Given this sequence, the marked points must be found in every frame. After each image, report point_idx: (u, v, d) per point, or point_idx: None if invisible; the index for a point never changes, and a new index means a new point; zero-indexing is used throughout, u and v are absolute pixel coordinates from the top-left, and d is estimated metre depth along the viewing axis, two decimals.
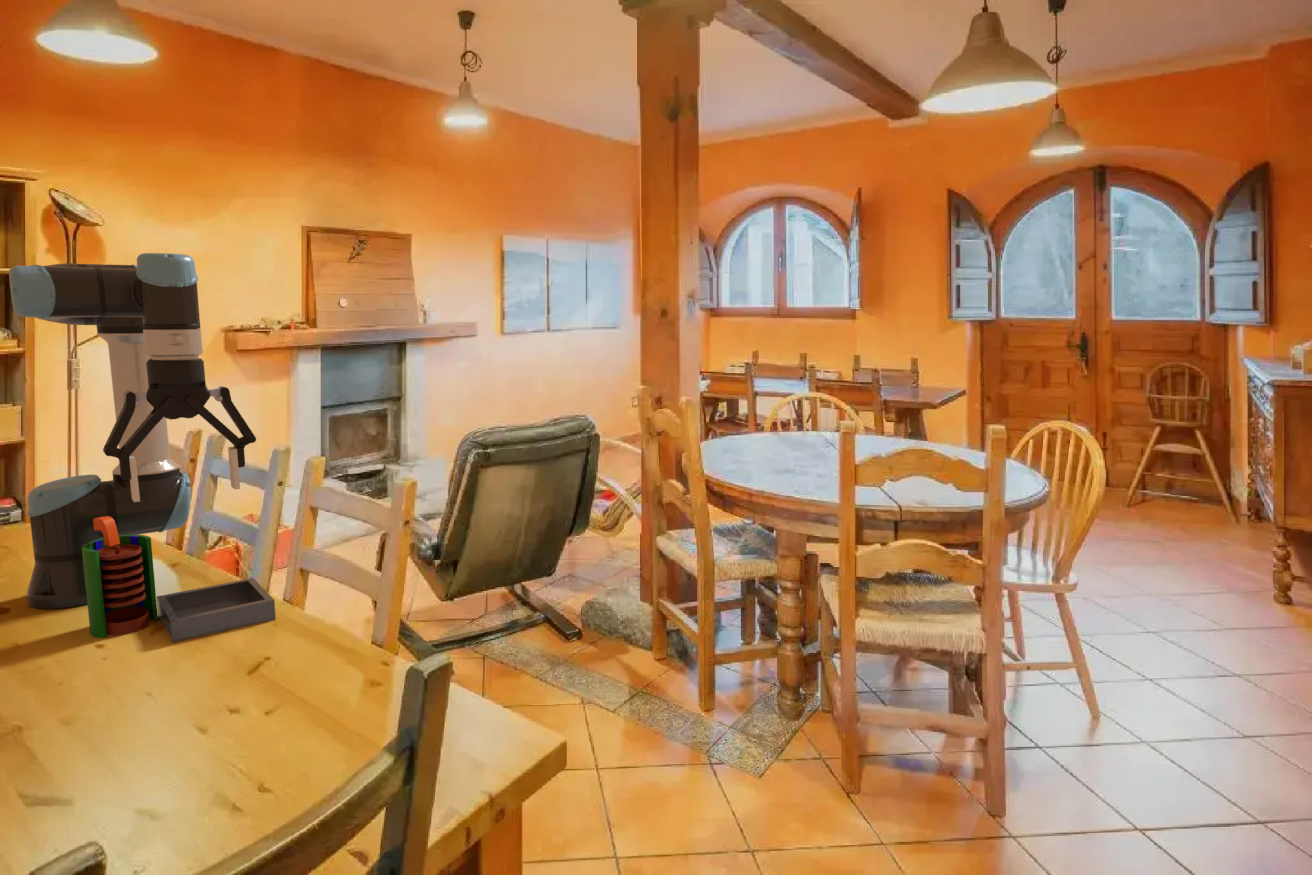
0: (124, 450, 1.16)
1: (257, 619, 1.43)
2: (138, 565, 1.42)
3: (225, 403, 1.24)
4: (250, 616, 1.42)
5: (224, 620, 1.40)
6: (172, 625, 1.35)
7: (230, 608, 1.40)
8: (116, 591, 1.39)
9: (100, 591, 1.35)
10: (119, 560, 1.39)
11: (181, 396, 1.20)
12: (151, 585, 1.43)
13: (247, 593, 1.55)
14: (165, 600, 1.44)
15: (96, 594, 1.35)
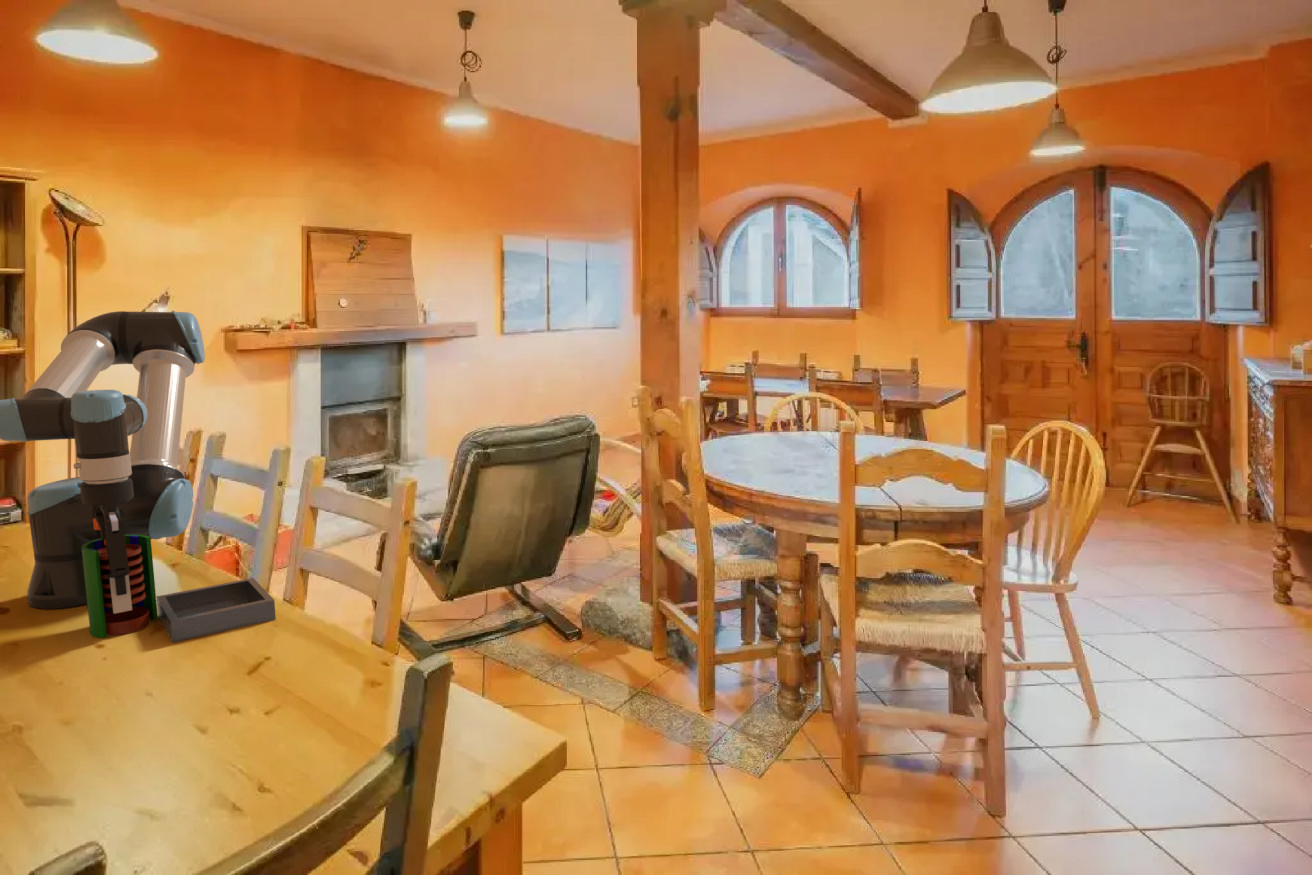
0: None
1: (257, 619, 1.43)
2: (138, 565, 1.43)
3: (106, 532, 1.34)
4: (250, 616, 1.42)
5: (224, 620, 1.40)
6: (172, 625, 1.35)
7: (230, 608, 1.40)
8: None
9: (100, 591, 1.35)
10: None
11: (101, 508, 1.37)
12: (151, 585, 1.43)
13: (247, 593, 1.55)
14: (165, 600, 1.44)
15: (96, 594, 1.35)
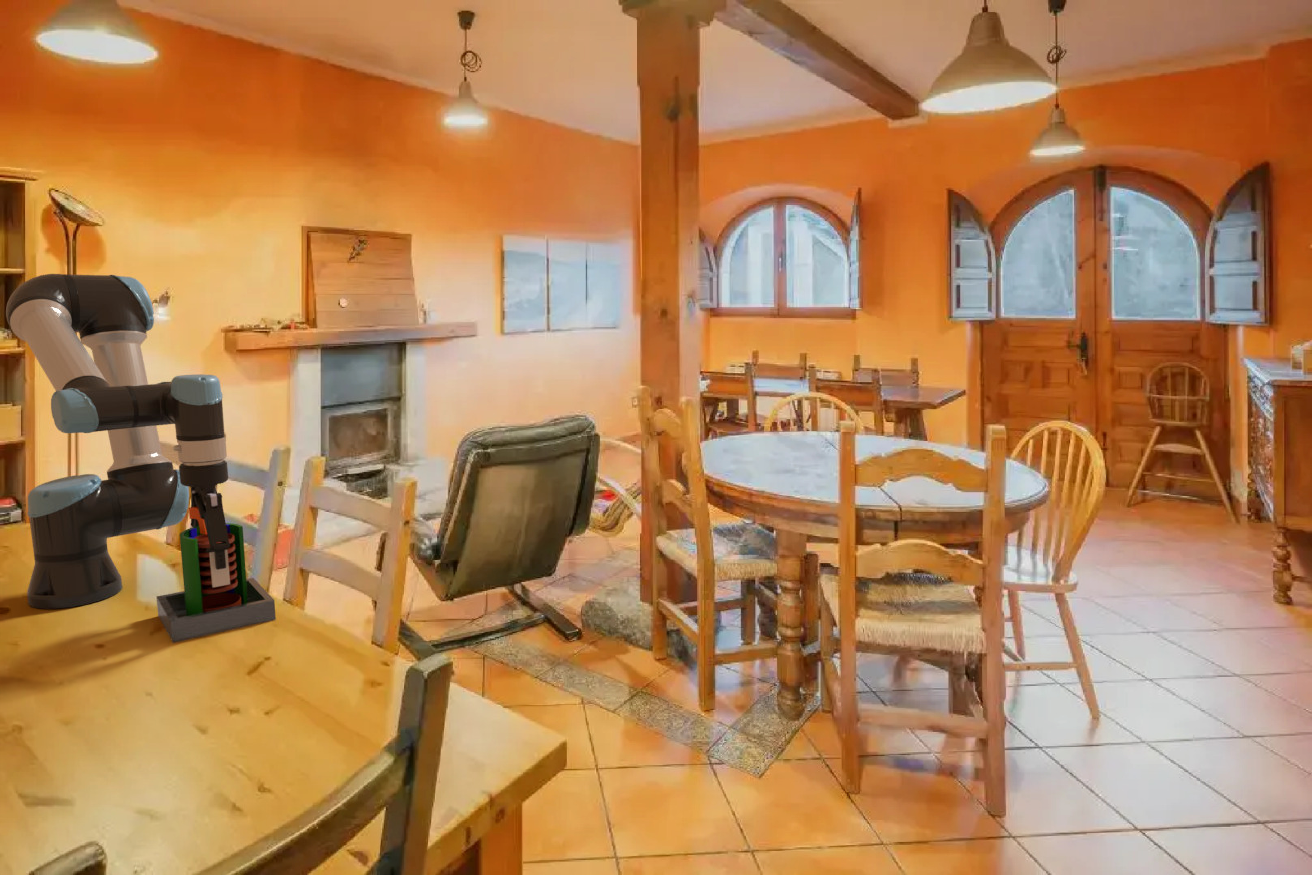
0: (193, 525, 1.48)
1: (257, 619, 1.43)
2: (230, 553, 1.47)
3: (206, 509, 1.37)
4: (250, 616, 1.42)
5: (224, 620, 1.40)
6: (172, 625, 1.35)
7: (230, 608, 1.40)
8: (211, 578, 1.44)
9: (198, 578, 1.40)
10: None
11: (199, 494, 1.41)
12: (242, 572, 1.48)
13: (247, 593, 1.55)
14: (165, 600, 1.44)
15: (194, 581, 1.40)
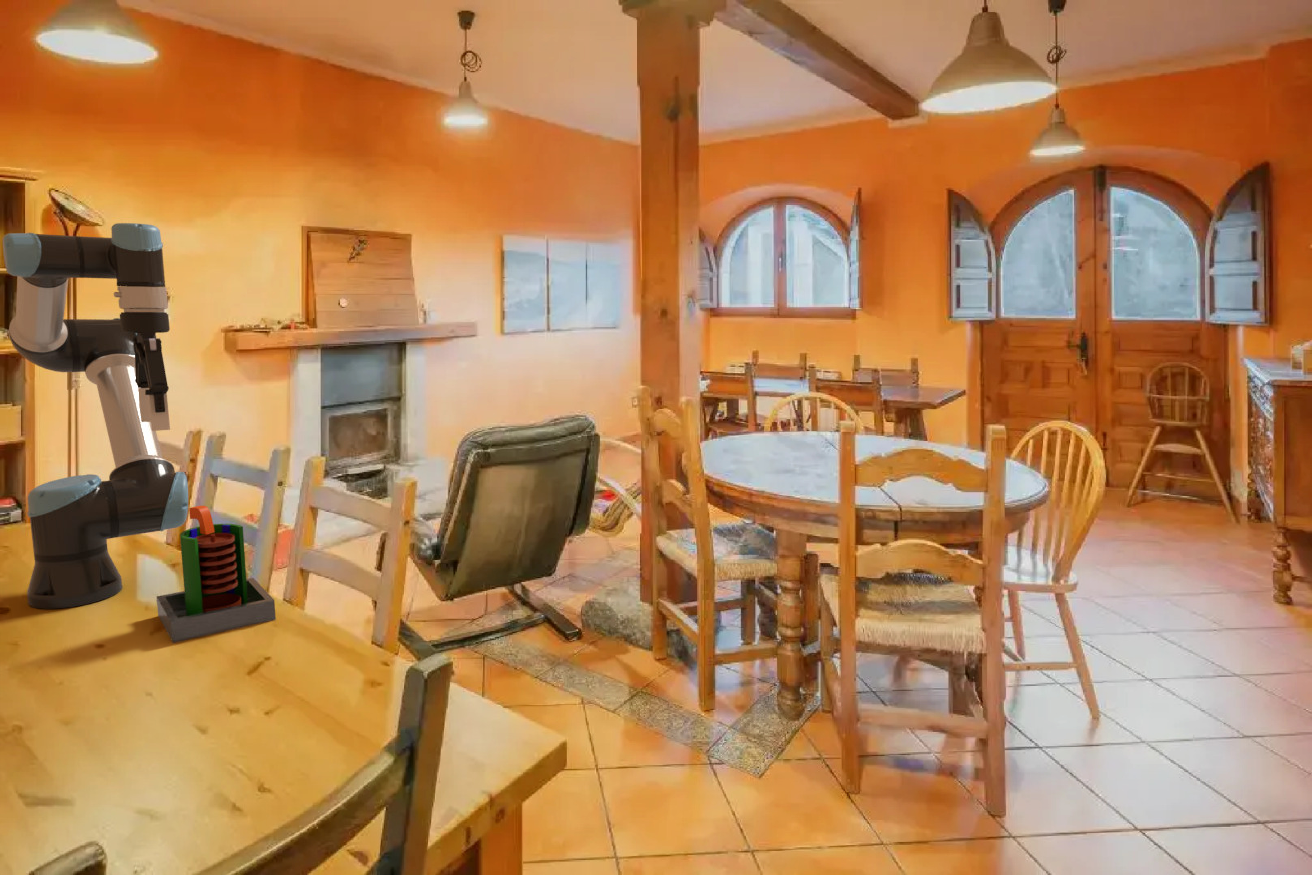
0: (137, 380, 1.52)
1: (257, 619, 1.43)
2: (230, 553, 1.47)
3: (145, 353, 1.40)
4: (250, 616, 1.42)
5: (224, 620, 1.40)
6: (172, 625, 1.35)
7: (230, 608, 1.40)
8: (211, 578, 1.44)
9: (198, 577, 1.40)
10: (214, 548, 1.44)
11: (140, 343, 1.44)
12: (242, 572, 1.48)
13: (247, 593, 1.55)
14: (165, 600, 1.44)
15: (194, 580, 1.40)
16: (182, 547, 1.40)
